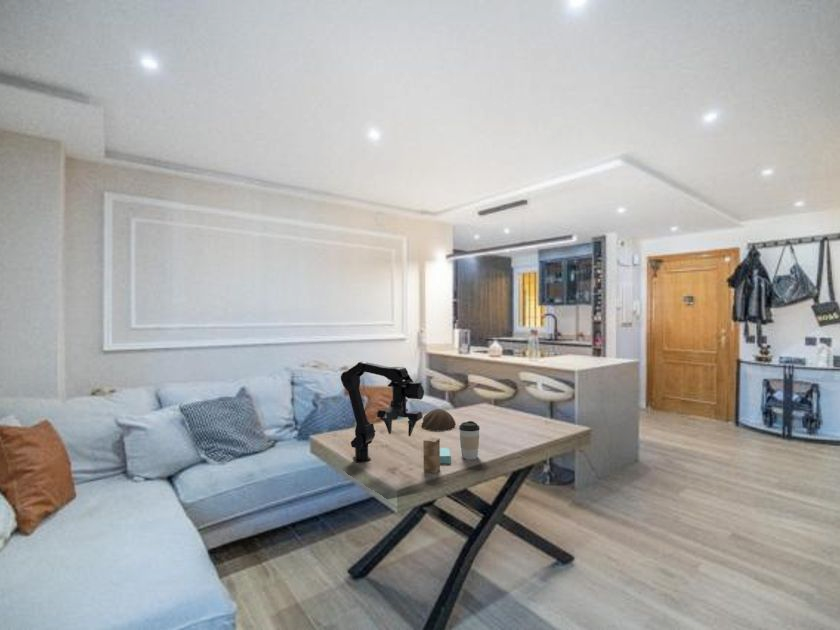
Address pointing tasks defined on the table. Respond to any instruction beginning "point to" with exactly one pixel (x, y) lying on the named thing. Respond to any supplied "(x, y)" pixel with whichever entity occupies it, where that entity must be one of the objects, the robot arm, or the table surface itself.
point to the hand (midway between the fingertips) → (399, 435)
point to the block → (431, 454)
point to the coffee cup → (469, 439)
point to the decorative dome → (438, 420)
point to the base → (445, 455)
